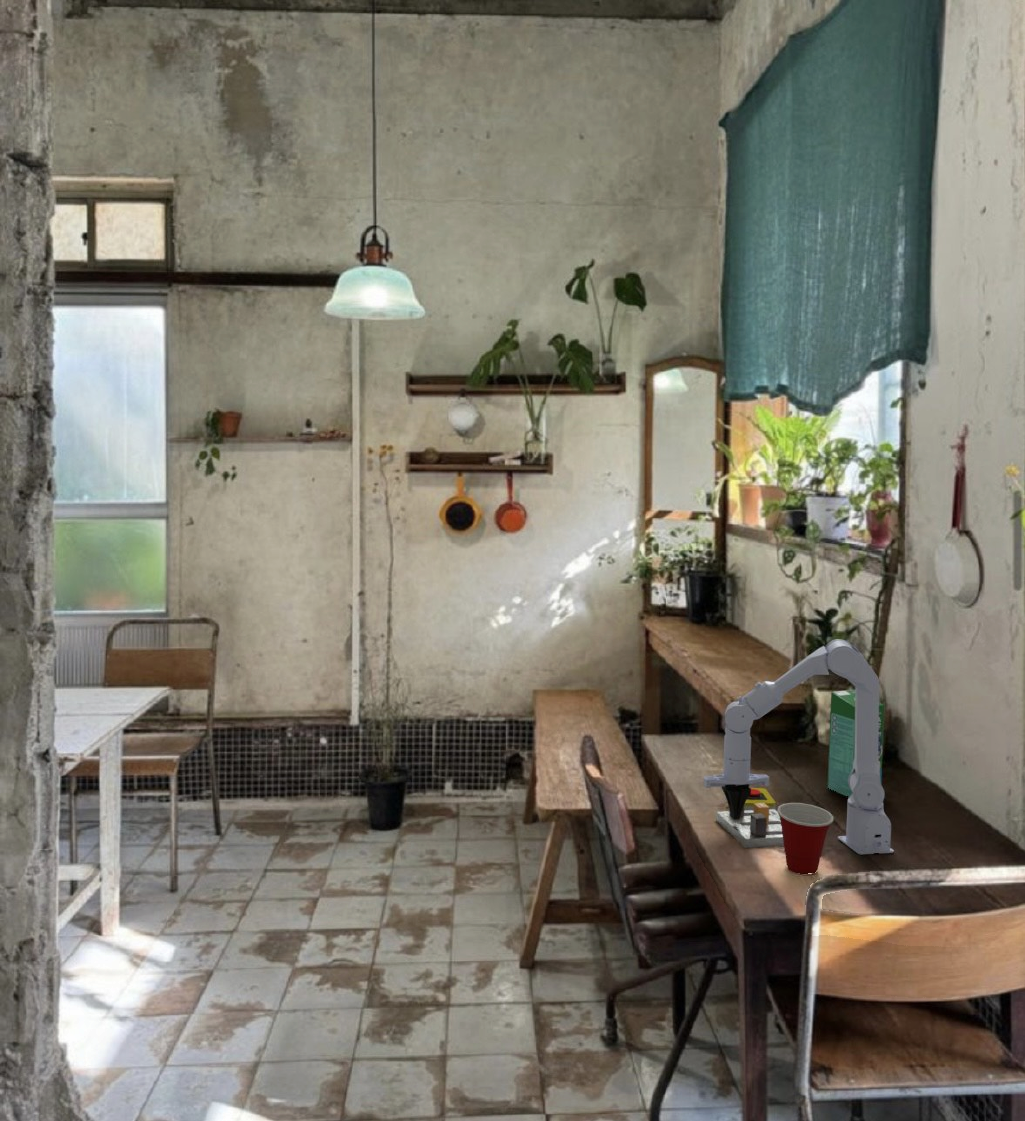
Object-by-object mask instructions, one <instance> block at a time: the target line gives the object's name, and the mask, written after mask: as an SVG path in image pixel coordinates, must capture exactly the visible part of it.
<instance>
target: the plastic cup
mask: <svg viewBox="0 0 1025 1121" xmlns="http://www.w3.org/2000/svg"><path fill="white" fill-rule="evenodd" d="M776 811H777V812H778V814H779V816H780V821H781V826H782V834H783V843H784V846H783V849H784V850H783V851H784V853H785V860H786V861H785V862H786V866H787V869H788V870H789V871H790V872H791V871H792V873H793V872H794V873H793V874H796V873H800V874H799V875H801V874H808V873H815V872H816V871H818V870H819V866H820V861H821V857H822V853H823V849H824V845H825V840H826V836H827V833H828V831H829V828H830V826H831V825H832V823H833V822H834V815H833V814H831V812H829V811H828V810H826V809H824V808H822V807H820V806H816V805H813V804H808V803H803V802H789V803H788V802H787V803H782V804H781V805H779V806H777V810H776ZM816 873H817V872H816ZM816 873H815V874H816Z"/></svg>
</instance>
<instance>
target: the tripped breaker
mask: <svg viewBox="0 0 1025 1121" xmlns="http://www.w3.org/2000/svg"><path fill="white" fill-rule="evenodd" d="M753 814H762V815H764V816H765V817H766V818H767V823H766V824H769V807H768V806H767V805H766V804H765V803H754V810H753Z"/></svg>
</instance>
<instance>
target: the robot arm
mask: <svg viewBox="0 0 1025 1121" xmlns="http://www.w3.org/2000/svg"><path fill="white" fill-rule="evenodd" d="M829 670H830V671H831V672H832V673H834V674H836V675H837V676H839V677H841V678H844V679H847V681H849V683H851V684H852V685H853V687H854V688H855V689H854V690H855V757H854V761H853V770H852V772H851V774H850V776H849V779H848V784H849V787H850V789H851V790H852V794H851V796H850V797H847V798H848V799H847V803H846V805H847V806H846V807H847V808H846V830H845V835H840V836H837V839H838V840H839V841H841V842H842V843H843V844H844V845H846V846H847V847H848V848H850V850H852V851H854V852H855V853H856V854H858V855H874V853H879V854H894V853H895V850H894V849H893V848H891V838H892V837H891V835H892V823H891V820H890V819H889V817H888V816H887V815H886V813H885V811H884V809H885V808H884V799H885V795H886V794H885V789H884V788H883V786H882V782H881V783H880V772H879V765H878V734H879V702H880V680H879V677H878V675H877V674H876V672H875V671H874V670H873V668H872V667H871V665H870V664H869V663H868V661H867V659H865V657H864V655H863V654H862V653H861V652H860V650H859V649H858V648H857V647H856V646H854V645H852V644H851V643H850V642H849V641H847V640H844V639H842V638H841V639H840V638H839V639H837V638H836V639H833V640H831V641H830V642H828V643H827V644H826V645H822V646H821V647H818V648H817V649H816V650H815V651H813V652H812V653H810V654H809V655H807V656H806V657H805V658H803V659H802V660H801V661H799V663H797V664H796V665H795V666H793V667H792V668H790V669H789V670H788V671H786V673H784V674H783V675H781V676H780V677H779V678H777V679H776V680H775V681H769V680H764V681H763V682H761V681H758V682H757V683H755V684H754V687H755V688H753V689H752V690H750V691H749V692H748V693H746V694H745V695H743V696H741V695H739V696H738V697H736V698H737V701H733V702H731V703H729V704H727V706H726V709H725V711H724V712H723V714H724V722H725V727H724V728H725V729H724V732H725V734H724V737H723V739H724V740H723V764H722V765H723V771H722V774H721V773H720V774H716V775H710V776H703V777H702V786H703V787H704V788H706V789H710V788H712V787H716V788H718V787H721V791H723V793H724V794H723V795H724V796H725V799H726V802H727V805H728V811H729V810H730V817H731V818H733V819H734V820H735V819H740V815H741V812H742V809H743V806H744V804H745V802H746V800H747V798H748V797H749V795H750V794H751V788H752V787H750V786H764V787H765V786H766V787H767V786H770V776H769V775H767V774H759V773H758V774H757V773H755V774H753V773H751V752H752V751H751V750H752V749H751V748H752V736H751V728H752V727H753V724H754V721H755V720H759V719H761V718H762V717H763V716H765V715H766V714H768V713H769V712H771V711H772V710H774V709H775V708H777V707H778V706H779V705H781V704H782V703H783V698H784V697H783V696H784V694H786V693H787V692H789V691H790V690H792V689H794V688H795V687H797V686H799V685H800V684H802V683H803V682H805V681H807V680H808V679H810V678H811V677H813V676H815V675H818V676H820V675H822V676H825V675H826V676H827V675H828V676H829V675H830V673H829ZM893 852H894V853H893Z"/></svg>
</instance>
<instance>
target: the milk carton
mask: <svg viewBox="0 0 1025 1121" xmlns="http://www.w3.org/2000/svg"><path fill="white" fill-rule="evenodd" d="M829 718H830V719H829V721H830V722H829V741H828V742H829V747H828V764H827V765H828V767H827V768H828V770H827V789H828V788H829V789H828V790H830V789H831V790H830V791H833V790H834V792H835V791H836V793H837V794H840V795H843V796H845V797H847V796H848V797H847V798H849V797H850V796H851V794H852V790H851V789H850V787H849V784H848V779H849V776H850V774H851V772H852V770H853V761H854V757H855V689H848V690H847V689H845V690H838V691H837V690H836V691H835V690H834V691H831V693H830V717H829ZM884 725H885V704H883V703H882V702H881V701H879V734H878V765H879V772H880V783H881V784H882V776H883V775H882V774H883V773H882V772H883V771H882V770H883V769H882V768H883V748H884V747H883V746H884Z"/></svg>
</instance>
